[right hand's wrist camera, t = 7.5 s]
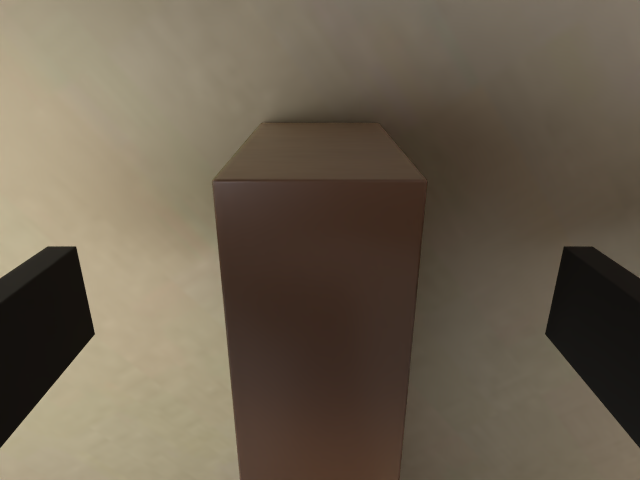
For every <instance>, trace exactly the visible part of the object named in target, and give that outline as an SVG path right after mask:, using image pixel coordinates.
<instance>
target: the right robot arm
mask: <svg viewBox="0 0 640 480" xmlns="http://www.w3.org/2000/svg"><path fill="white" fill-rule="evenodd" d="M94 335H95V332H94V328H93V323H92V318H91V314H90V309H89V304H88V300H87V295H86V290H85V286H84V281H83V276H82V272H81V267H80V263H79V258H78V253H77V249H76V247H46V248H45V249H43V250H42V251H40V252H39V253H37V254H36V255H34V256H33V257H31V258H30V259H28V260H27V261H25V262H24V263H22V264H21V265H20V266H18V267H17V268H15V269H14V270H12V271H11V272H9V273H8V274H6V275H5V276H3V277H2V278H0V448H1V446H2V445H3V444H4V443H5V442H6V440H7V439H8V438H9V437H10V436H11V434H12V433H13V432H14V431H15V430H16V428H17V427H18V426H19V425H20V424H21V422H22V421H23V420H24V419H25V418H26V416H27V415H28V414H29V413H30V412H31V410H32V409H33V408H34V407H35V406H36V404H37V403H38V402H39V401H40V400H41V398H42V397H43V396H44V395H45V393H46V392H47V391H48V390H49V389H50V387H51V386H52V385H53V384H54V383H55V381H56V380H57V379H58V378H59V377H60V375H61V374H62V373H63V372H64V371H65V369H66V368H67V367H68V366H69V365H70V363H71V362H72V361H73V360H74V359H75V357H76V356H77V355H78V354H79V353H80V351H81V350H82V349H83V348H84V347H85V345H86V344H87V343H88V342H89V341H90V339H91V338H92V337H93V336H94ZM545 335H546V336H547V337H548V338H549V339H550V341H551V342H552V343H553V344H554V345H555V347H556V348H557V349H558V350H559V351H560V353H561V354H562V355H563V356H564V357H565V359H566V360H567V361H568V362H569V363H570V365H571V366H572V367H573V368H574V369H575V371H576V372H577V373H578V374H579V375H580V377H581V378H582V379H583V380H584V381H585V383H586V384H587V385H588V386H589V387H590V389H591V390H592V391H593V392H594V393H595V395H596V396H597V397H598V398H599V400H600V401H601V402H602V403H603V404H604V406H605V407H606V408H607V409H608V410H609V412H610V413H611V414H612V415H613V416H614V418H615V419H616V420H617V421H618V422H619V424H620V425H621V426H622V427H623V428H624V430H625V431H626V432H627V433H628V434H629V436H630V437H631V438H632V439H633V440H634V442H635V443H636V444H637V445H638V446H639V448H640V278H638V277H637V276H635V275H634V274H632V273H631V272H629V271H628V270H626V269H625V268H623V267H622V266H620V265H619V264H618V263H616V262H615V261H613V260H612V259H610V258H609V257H607V256H606V255H604V254H603V253H601V252H600V251H598V250H597V249H595V248H594V247H564V249H563V253H562V258H561V262H560V267H559V272H558V276H557V281H556V286H555V290H554V295H553V300H552V304H551V309H550V314H549V318H548V323H547V328H546V332H545Z"/></svg>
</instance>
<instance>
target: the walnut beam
mask: <svg viewBox="0 0 640 480" xmlns="http://www.w3.org/2000/svg"><path fill="white" fill-rule="evenodd" d="M212 185H213V196H214V207H215V217H216V228H217V239H218V249H219V260H220V271H221V281H222V292H223V303H224V313H225V324H226V334H227V345H228V356H229V366H230V377H231V388H232V398H233V409H234V420H235V430H236V441H237V452H238V462H239V473H240V480H399V478H400V468H401V457H402V446H403V436H404V425H405V414H406V404H407V393H408V382H409V372H410V361H411V350H412V340H413V329H414V318H415V308H416V297H417V287H418V276H419V265H420V255H421V244H422V233H423V223H424V212H425V201H426V191H427V180H426V178H425V177H424V176H423V175H422V174H421V173H420V171H419V170H418V169H417V168H416V167H415V165H414V164H413V163H412V162H411V161H410V160H409V158H408V157H407V156H406V155H405V154H404V152H403V151H402V150H401V149H400V148H399V147H398V145H397V144H396V143H395V142H394V141H393V139H392V138H391V137H390V136H389V135H388V134H387V132H386V131H385V130H384V129H383V128H382V126H381V125H380V124H379V123H261V124H260V125H259V126H258V127H257V129H256V130H255V131H254V132H253V133H252V134H251V136H250V137H249V138H248V139H247V140H246V141H245V143H244V144H243V145H242V146H241V147H240V148H239V150H238V151H237V152H236V153H235V154H234V156H233V157H232V158H231V159H230V160H229V161H228V163H227V164H226V165H225V166H224V167H223V168H222V170H221V171H220V172H219V173H218V174H217V175H216V177H215V178H214V179H213V181H212Z"/></svg>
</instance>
